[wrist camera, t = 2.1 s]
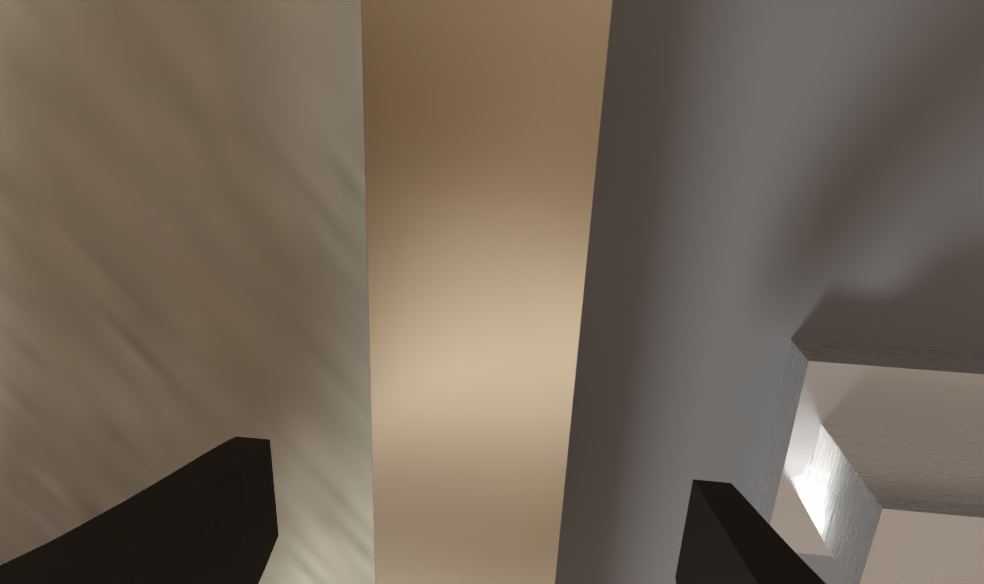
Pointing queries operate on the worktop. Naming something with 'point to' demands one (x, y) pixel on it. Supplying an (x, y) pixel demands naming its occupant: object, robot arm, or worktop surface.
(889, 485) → the steel ridge
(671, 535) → the charcoal board
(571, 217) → the maple batten
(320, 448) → the worktop surface
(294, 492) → the worktop surface
